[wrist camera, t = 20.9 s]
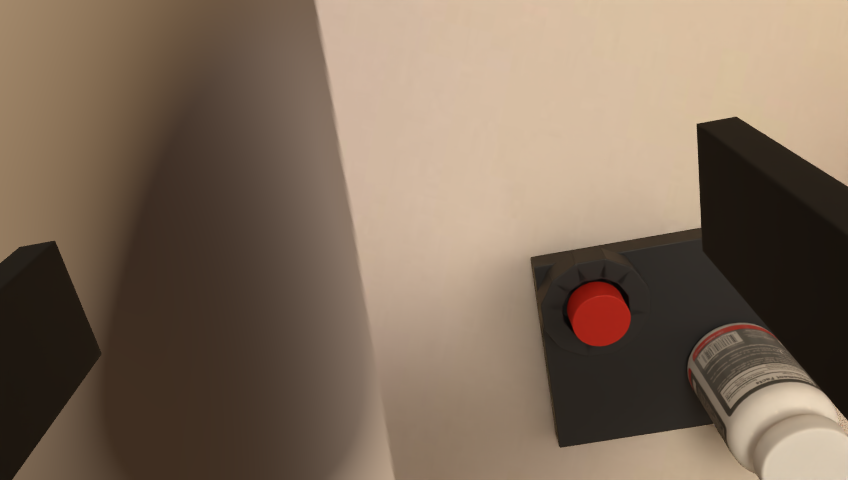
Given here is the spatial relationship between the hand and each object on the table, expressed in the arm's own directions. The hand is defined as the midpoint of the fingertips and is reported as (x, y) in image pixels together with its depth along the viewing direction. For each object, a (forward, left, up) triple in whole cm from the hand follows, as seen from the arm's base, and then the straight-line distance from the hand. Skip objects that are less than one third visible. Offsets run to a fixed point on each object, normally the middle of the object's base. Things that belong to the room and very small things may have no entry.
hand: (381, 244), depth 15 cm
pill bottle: (+16, -22, -25) cm, 37 cm away
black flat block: (+13, -20, -27) cm, 36 cm away
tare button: (+8, -16, -24) cm, 30 cm away
